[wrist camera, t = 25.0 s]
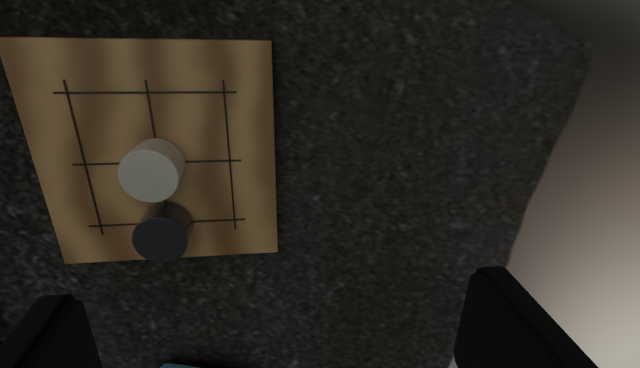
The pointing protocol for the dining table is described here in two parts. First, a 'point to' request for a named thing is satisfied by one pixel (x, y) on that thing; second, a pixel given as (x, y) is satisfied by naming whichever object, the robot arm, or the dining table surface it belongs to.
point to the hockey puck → (163, 232)
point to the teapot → (176, 366)
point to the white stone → (152, 170)
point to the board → (149, 136)
